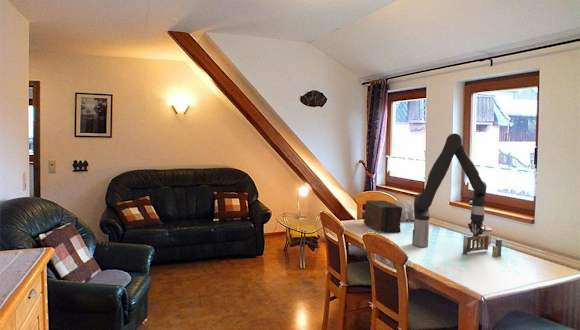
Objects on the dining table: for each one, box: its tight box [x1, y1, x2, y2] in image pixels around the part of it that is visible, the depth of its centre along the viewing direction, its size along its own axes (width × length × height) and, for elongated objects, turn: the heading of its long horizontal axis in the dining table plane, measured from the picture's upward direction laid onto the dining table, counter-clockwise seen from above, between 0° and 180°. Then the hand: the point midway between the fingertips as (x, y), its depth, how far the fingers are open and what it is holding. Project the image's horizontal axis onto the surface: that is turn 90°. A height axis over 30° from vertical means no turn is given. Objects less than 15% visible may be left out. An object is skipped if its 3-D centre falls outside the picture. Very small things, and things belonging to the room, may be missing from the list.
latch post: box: [491, 238, 503, 258], centre depth 247 cm, size 5×4×10 cm
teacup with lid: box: [477, 224, 493, 244], centre depth 280 cm, size 12×9×12 cm
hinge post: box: [462, 235, 469, 256], centre depth 249 cm, size 2×2×11 cm
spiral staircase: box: [394, 199, 414, 222], centre depth 338 cm, size 18×18×25 cm
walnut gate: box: [467, 235, 489, 253], centre depth 253 cm, size 16×2×9 cm, turn 113°
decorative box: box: [363, 199, 402, 234], centre depth 309 cm, size 31×20×20 cm
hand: (475, 240), depth 256 cm, fingers closed
